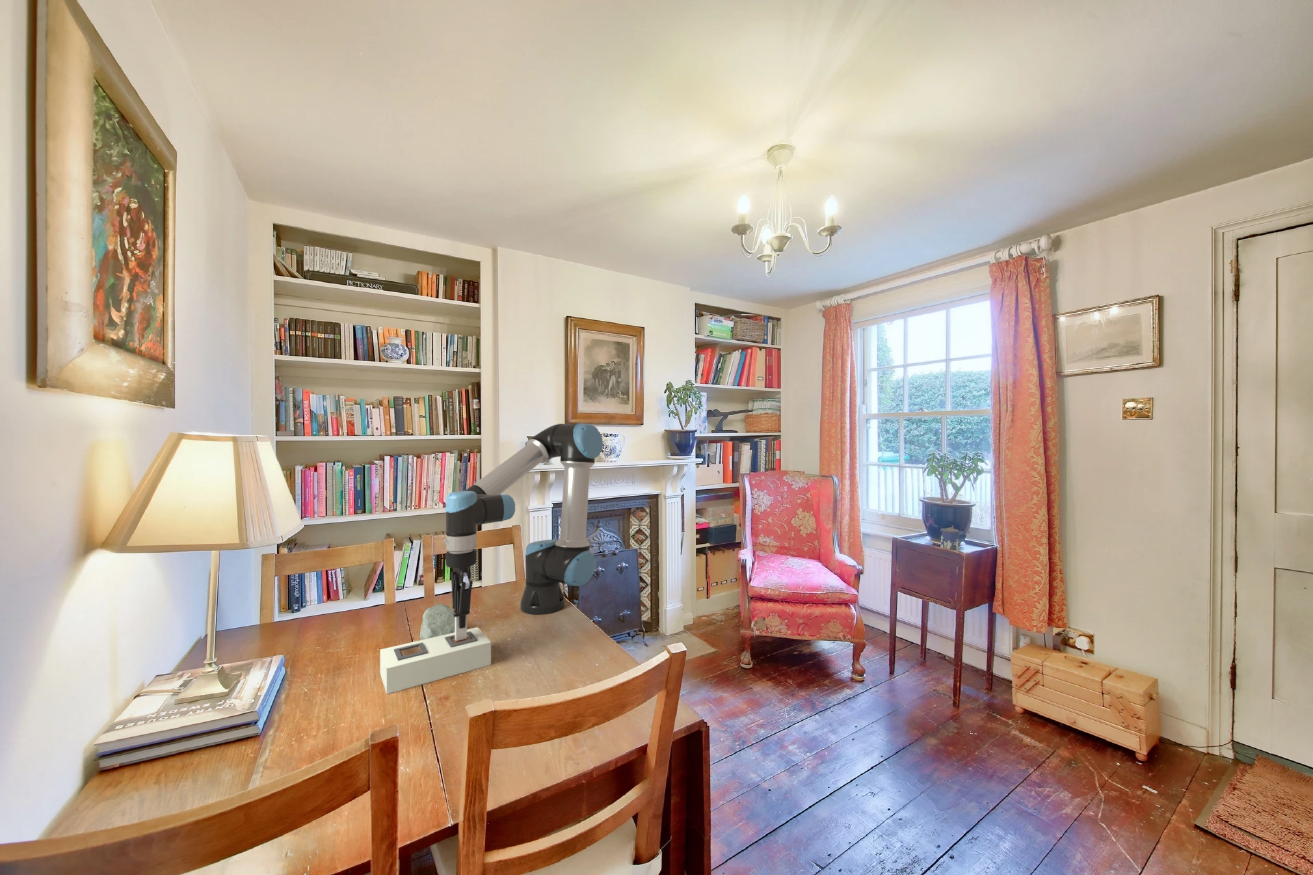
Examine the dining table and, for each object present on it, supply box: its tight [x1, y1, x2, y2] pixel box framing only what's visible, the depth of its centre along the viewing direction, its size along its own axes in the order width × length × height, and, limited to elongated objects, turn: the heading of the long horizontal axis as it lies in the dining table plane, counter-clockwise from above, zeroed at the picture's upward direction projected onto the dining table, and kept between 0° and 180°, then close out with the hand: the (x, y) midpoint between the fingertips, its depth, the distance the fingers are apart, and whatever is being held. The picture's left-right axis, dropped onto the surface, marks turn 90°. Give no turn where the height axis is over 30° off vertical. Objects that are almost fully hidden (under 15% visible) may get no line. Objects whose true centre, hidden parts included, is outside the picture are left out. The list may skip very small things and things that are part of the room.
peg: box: [401, 647, 421, 656], centre depth 118 cm, size 4×4×6 cm
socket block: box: [379, 626, 492, 695], centre depth 122 cm, size 24×12×6 cm, turn 127°
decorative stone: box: [419, 603, 455, 640], centre depth 139 cm, size 13×11×10 cm
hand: (460, 638), depth 125 cm, fingers closed
